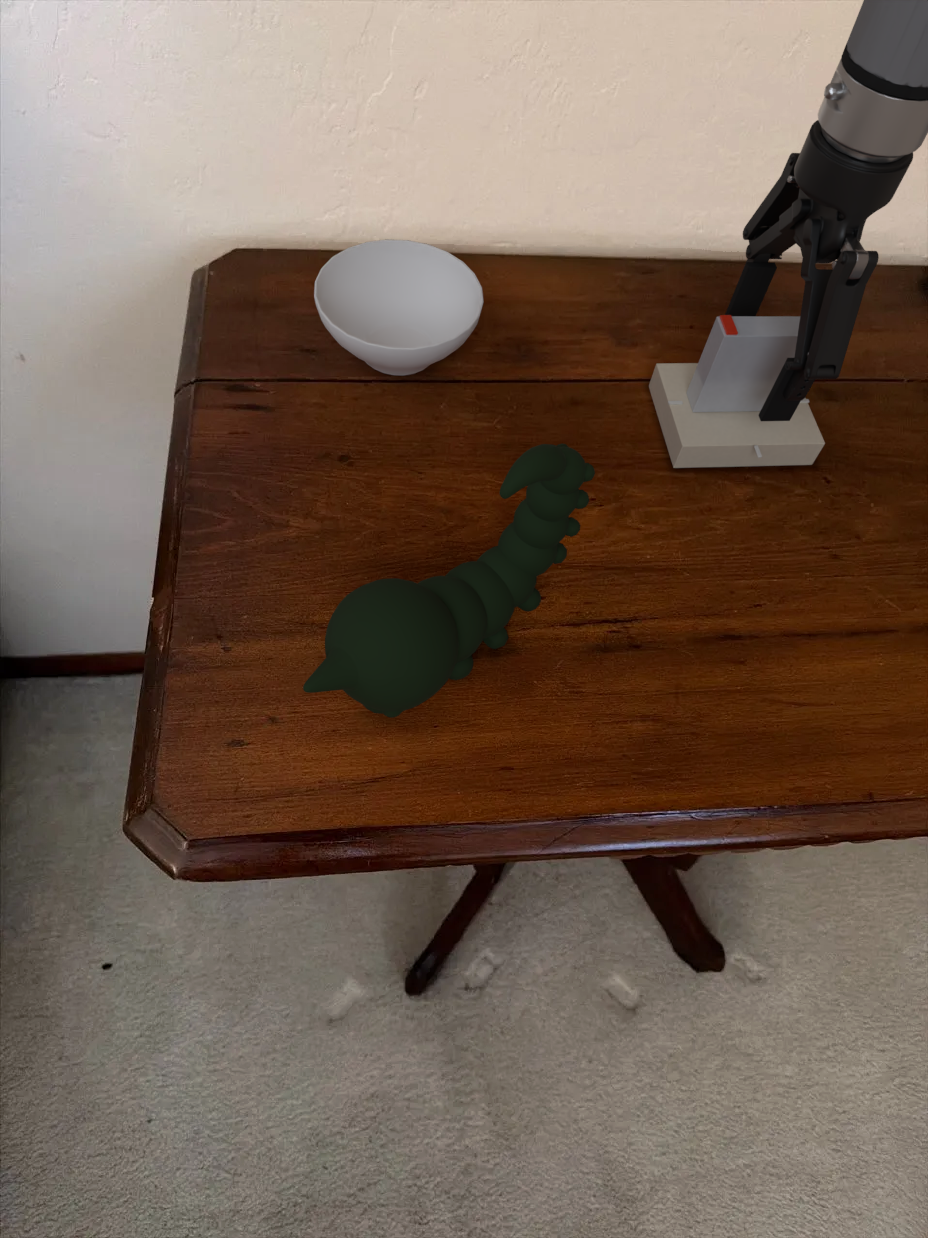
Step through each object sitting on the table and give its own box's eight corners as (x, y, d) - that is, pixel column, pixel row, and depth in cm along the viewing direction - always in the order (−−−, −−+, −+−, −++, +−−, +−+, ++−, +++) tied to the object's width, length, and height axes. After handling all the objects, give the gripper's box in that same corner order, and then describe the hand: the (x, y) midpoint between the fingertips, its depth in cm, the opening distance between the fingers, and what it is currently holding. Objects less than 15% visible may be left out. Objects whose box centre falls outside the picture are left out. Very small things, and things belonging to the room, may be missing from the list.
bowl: (309, 302, 91) (305, 241, 86) (460, 294, 94) (466, 235, 88) (327, 413, 83) (323, 354, 77) (491, 400, 86) (499, 343, 80)
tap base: (775, 373, 92) (787, 349, 89) (818, 477, 84) (832, 454, 82) (643, 374, 90) (652, 350, 87) (676, 481, 83) (686, 458, 80)
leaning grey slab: (784, 391, 86) (825, 313, 78) (792, 410, 85) (834, 333, 77) (686, 392, 85) (717, 313, 77) (692, 412, 83) (725, 333, 75)
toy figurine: (497, 552, 78) (264, 704, 66) (545, 383, 63) (254, 540, 51) (573, 621, 75) (343, 794, 63) (643, 461, 60) (358, 647, 48)
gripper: (767, 47, 69) (684, 284, 87) (875, 238, 56) (751, 468, 74) (857, 51, 70) (756, 284, 88) (982, 239, 57) (835, 466, 75)
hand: (754, 369), depth 81 cm, fingers open, 12 cm apart
